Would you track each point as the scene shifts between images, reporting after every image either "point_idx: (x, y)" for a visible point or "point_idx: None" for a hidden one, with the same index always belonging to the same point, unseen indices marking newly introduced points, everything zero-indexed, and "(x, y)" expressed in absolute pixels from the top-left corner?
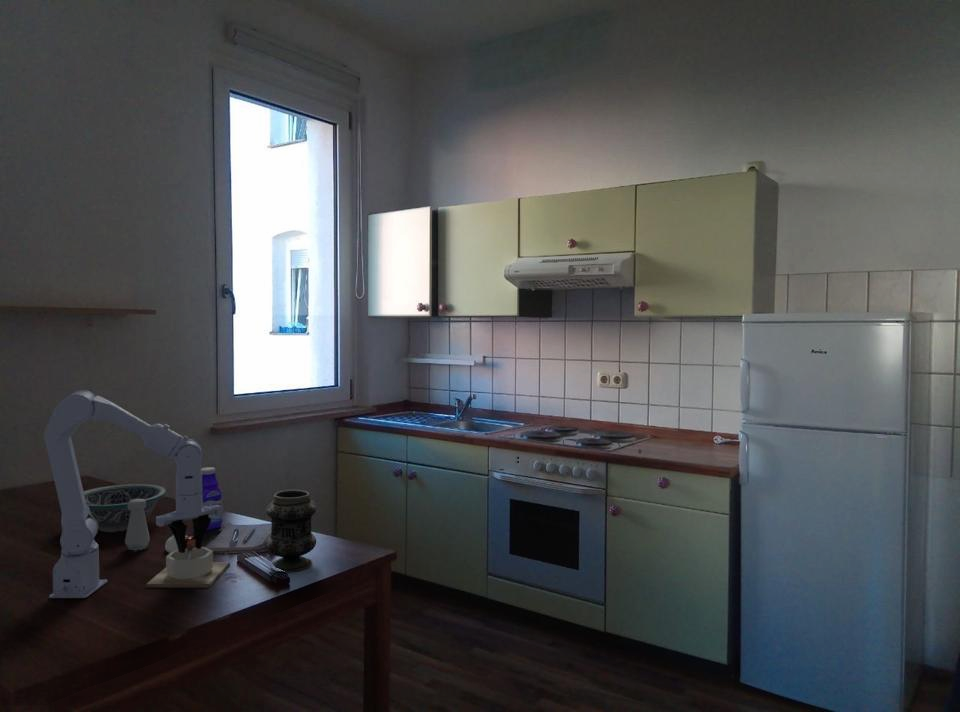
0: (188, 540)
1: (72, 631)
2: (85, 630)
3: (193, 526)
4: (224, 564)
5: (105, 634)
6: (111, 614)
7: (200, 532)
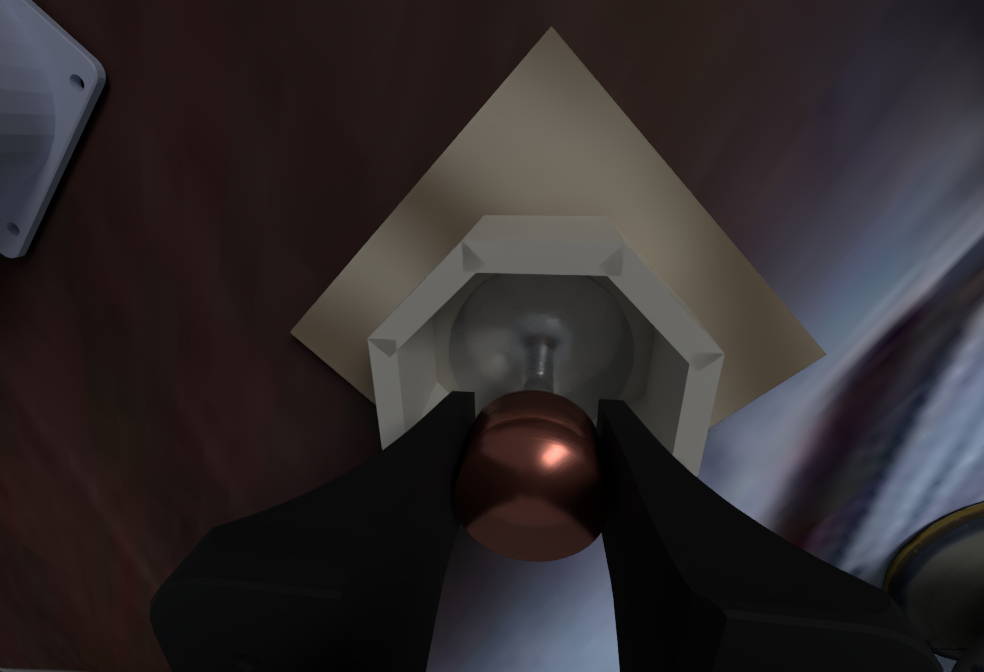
0: (491, 545)
1: (33, 513)
2: (71, 533)
3: (646, 523)
4: (768, 369)
5: (130, 591)
6: (144, 484)
7: (618, 637)
